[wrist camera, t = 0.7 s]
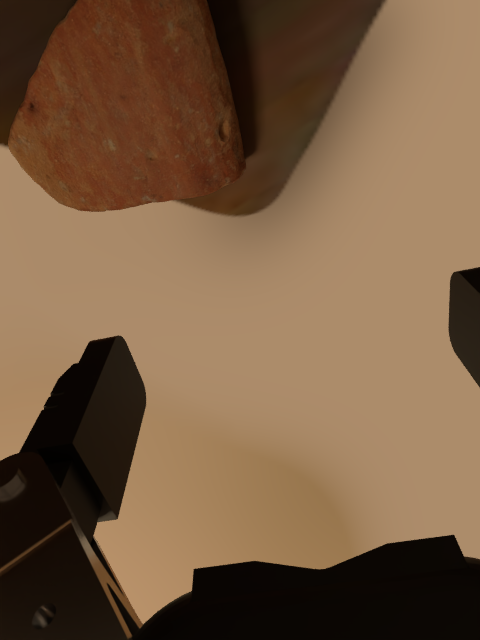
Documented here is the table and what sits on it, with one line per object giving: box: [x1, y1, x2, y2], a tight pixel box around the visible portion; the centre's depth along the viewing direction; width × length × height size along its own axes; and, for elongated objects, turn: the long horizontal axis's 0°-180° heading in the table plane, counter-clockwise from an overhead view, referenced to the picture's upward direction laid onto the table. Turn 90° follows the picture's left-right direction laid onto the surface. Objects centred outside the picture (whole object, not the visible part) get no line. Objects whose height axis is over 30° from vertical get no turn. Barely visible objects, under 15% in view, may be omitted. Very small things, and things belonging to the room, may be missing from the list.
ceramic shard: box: [8, 0, 246, 212], centre depth 29 cm, size 15×6×15 cm
